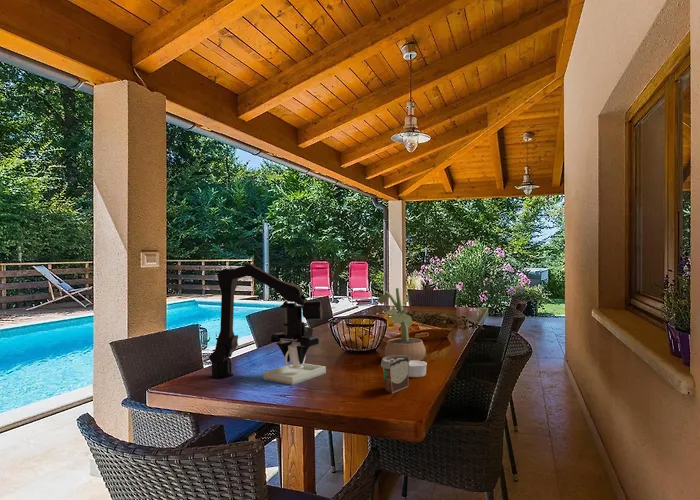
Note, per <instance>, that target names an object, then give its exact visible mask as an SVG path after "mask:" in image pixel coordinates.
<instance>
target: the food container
mask: <svg viewBox="0 0 700 500" xmlns="http://www.w3.org/2000/svg"><path fill="white" fill-rule="evenodd" d="M409 362H410V358H409V356H407V355H393V356H387V357H386V356H384V357H382V359H381V363H380V367H381V368H382V370H383V382H384V389H385V392H386V393H389V394H394V393H397V392H399V391H401V390H404V389H406V388H408V387H409V378H410V377H409Z"/></svg>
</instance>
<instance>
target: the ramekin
mask: <svg viewBox="0 0 700 500" xmlns="http://www.w3.org/2000/svg"><path fill="white" fill-rule="evenodd" d="M427 365H428V363H427V361H424V360H423V361H422V360H421V361H410V362H409V378H422V377H425V376H426V375H427Z"/></svg>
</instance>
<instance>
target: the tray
mask: <svg viewBox="0 0 700 500" xmlns="http://www.w3.org/2000/svg"><path fill="white" fill-rule="evenodd" d="M288 365H289V366H291V367H292V366H293V365H291V363H290V364H288ZM302 366H304V367H303V368H301V369H291V368H289V367H288V366H287V365H284V366H280V367H278V368H277V367H276V368H273V369H271V370H267V371H264V372H263V380H264V381H265V380H266V381H270V382H274V383H280V384H285V385H292V386H294V385H298V384H299V383H302V382H306V381H308V380H311V379H314V378H316V377H319V376H322V375H325V374H327V366H323V365H318V364H310V363H305V362H304V364H303V365H302Z"/></svg>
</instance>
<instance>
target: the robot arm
mask: <svg viewBox="0 0 700 500" xmlns="http://www.w3.org/2000/svg"><path fill="white" fill-rule="evenodd" d="M247 276H249V277H251V278H252V279H253V278H254V279H255V280H256V281H258V282H260V283H262V284H263V285H265V286H268V287H269V288H271V289H273V290H275V291H276V292H277V293H278V294H279V295H280V296H281V297H282V298H283V299H285V300H284V301H283V303H282V304H281V305H280V306H279V307H280V308H281V309H285V323H283V326H284V327H286V332H282V331H281V332H276V333H272V335H271V336H270V338H271V339H270V342H271V343H275V344H276V346H278V347H279V350H280V351H281V352H282V354H283V356H284V358H285V356H286V353H287V351H288V346H289V345H291V344H293V342H295V343H299V344H300V345H299V346H297V352H298V358H299V362H300V364H303V361H304V358H305V359H306V357H305V355H307V351H308V350H309V348H310V347H313V346H317V345H319V344H320V340H319V337H318V336H317V335H313V333H314V328H312V327H309V326H306V323H305V322H304V321H303V318H304V319H305V320H306V321H321V320H322V319H323V315H324V313H323V307H322V300H316V301H309V300H308V299H307V297H305V295H304V294H303V290H302V287H301V286H300V285H297V284H294V283H291V282H288V281H284V280H281V279H279V278H278V277H276V276H274V275H272V274H270V273H268V272H267V271H265V270H263V269H261V268H259V267H257V266H256V265H255V264H253V263H249V264H245V265H244V266H243V265H242V266H239V267H236V268H235V267H234V268H233V267H230V268H222V269H221V270H220V271H219V272H218V274H217V281H218V282H217V283H218V287H219V289H220V292H221V301H220V309H221V310H220V329H219V335H218V337H217V339H216V344H215V348H214V349H215V350H214V351H213V352H212V353H211V354H210V355H209V356H208V359H209V361H210V362H211V374H209V375H208V377H210V378H214V379H219V380H221V379H224V378H228V377H232V376H234V373H232V372H233V371H232V362H231V361H232V360H231V357H232V355H233V353H234V352H235V351H236V350H237V348H238V346H239V343H238V340H239V335H238V334H237V335H235V333H234V305H235V301H234V300H235V292H236V289H237V286H238V282H239V279H242V278H245V277H247ZM289 362H290V363H291V361H290V357H289V354H288V357H287V363H289ZM304 362H305V361H304Z"/></svg>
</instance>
